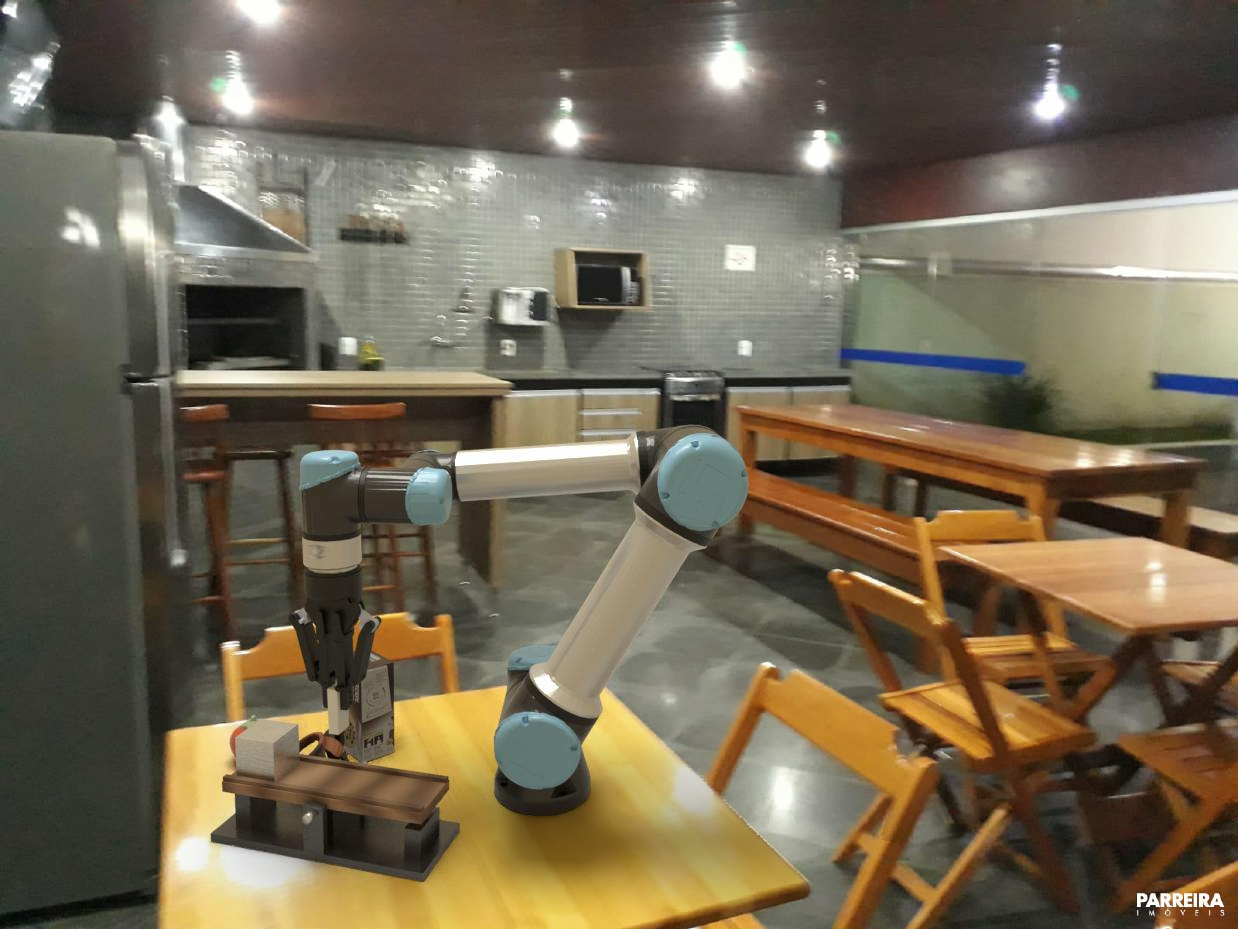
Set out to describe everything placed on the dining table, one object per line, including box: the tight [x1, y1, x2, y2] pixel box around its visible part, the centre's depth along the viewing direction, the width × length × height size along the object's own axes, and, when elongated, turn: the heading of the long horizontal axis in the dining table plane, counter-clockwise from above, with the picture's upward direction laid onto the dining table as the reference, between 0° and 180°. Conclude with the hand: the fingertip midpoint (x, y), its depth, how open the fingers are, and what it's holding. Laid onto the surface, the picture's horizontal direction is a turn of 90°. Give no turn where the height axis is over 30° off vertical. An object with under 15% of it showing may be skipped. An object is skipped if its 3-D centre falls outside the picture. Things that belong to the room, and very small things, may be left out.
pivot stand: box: [210, 761, 461, 883], centre depth 122 cm, size 32×15×8 cm, turn 77°
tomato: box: [229, 714, 262, 759], centre depth 142 cm, size 7×7×8 cm
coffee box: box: [335, 649, 395, 763], centre depth 147 cm, size 9×6×16 cm
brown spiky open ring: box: [299, 728, 350, 761], centre depth 139 cm, size 12×10×8 cm
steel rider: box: [235, 718, 301, 782], centre depth 123 cm, size 6×6×6 cm
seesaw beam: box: [221, 753, 450, 824], centre depth 122 cm, size 30×9×2 cm, turn 77°
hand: (339, 729), depth 120 cm, fingers closed
